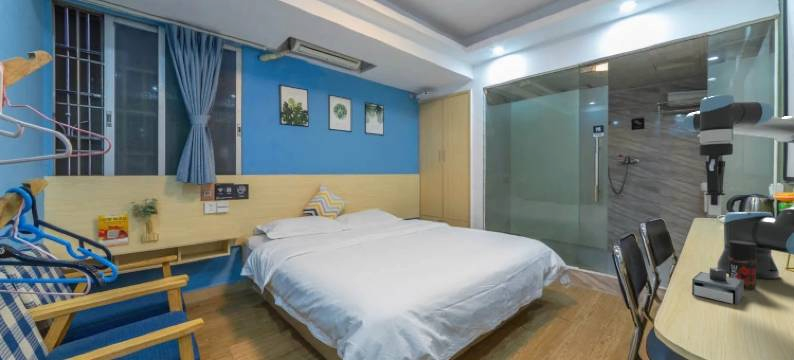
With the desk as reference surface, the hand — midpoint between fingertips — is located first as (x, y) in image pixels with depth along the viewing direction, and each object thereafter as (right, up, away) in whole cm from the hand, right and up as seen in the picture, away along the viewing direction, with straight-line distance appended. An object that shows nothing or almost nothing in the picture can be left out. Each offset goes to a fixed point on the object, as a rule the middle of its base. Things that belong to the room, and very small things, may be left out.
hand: (714, 214), depth 99 cm
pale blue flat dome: (-6, -23, -6) cm, 25 cm away
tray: (-5, -25, -5) cm, 26 cm away
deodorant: (+10, -24, +1) cm, 26 cm away
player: (-4, -25, -5) cm, 25 cm away
